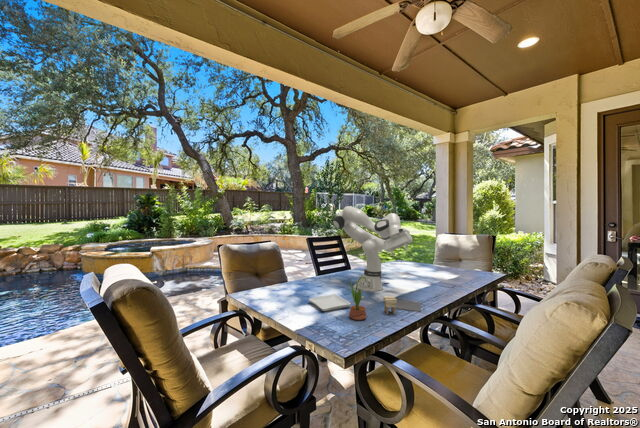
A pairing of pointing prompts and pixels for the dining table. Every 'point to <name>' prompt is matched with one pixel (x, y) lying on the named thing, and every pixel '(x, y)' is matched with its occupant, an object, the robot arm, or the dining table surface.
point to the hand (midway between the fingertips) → (399, 253)
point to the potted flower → (358, 311)
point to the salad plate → (329, 302)
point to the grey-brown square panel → (408, 306)
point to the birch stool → (389, 304)
